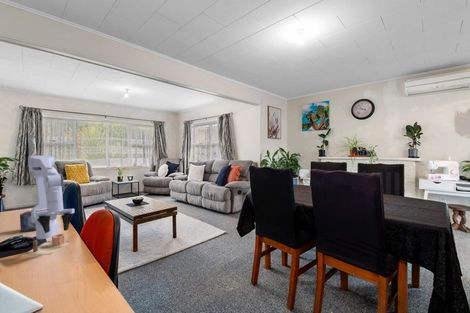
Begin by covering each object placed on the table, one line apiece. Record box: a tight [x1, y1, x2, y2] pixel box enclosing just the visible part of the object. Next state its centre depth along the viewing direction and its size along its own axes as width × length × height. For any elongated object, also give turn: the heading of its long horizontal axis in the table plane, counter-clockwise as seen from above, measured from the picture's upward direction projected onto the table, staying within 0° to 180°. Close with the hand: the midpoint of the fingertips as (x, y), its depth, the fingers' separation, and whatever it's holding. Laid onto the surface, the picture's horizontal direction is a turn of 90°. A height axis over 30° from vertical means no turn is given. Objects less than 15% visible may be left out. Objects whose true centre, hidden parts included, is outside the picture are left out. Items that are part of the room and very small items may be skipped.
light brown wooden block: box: [51, 233, 67, 246], centre depth 107 cm, size 5×5×4 cm
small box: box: [19, 210, 36, 233], centre depth 131 cm, size 11×6×10 cm, turn 105°
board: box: [20, 239, 73, 257], centre depth 104 cm, size 16×12×6 cm
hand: (56, 231), depth 100 cm, fingers open, 7 cm apart
